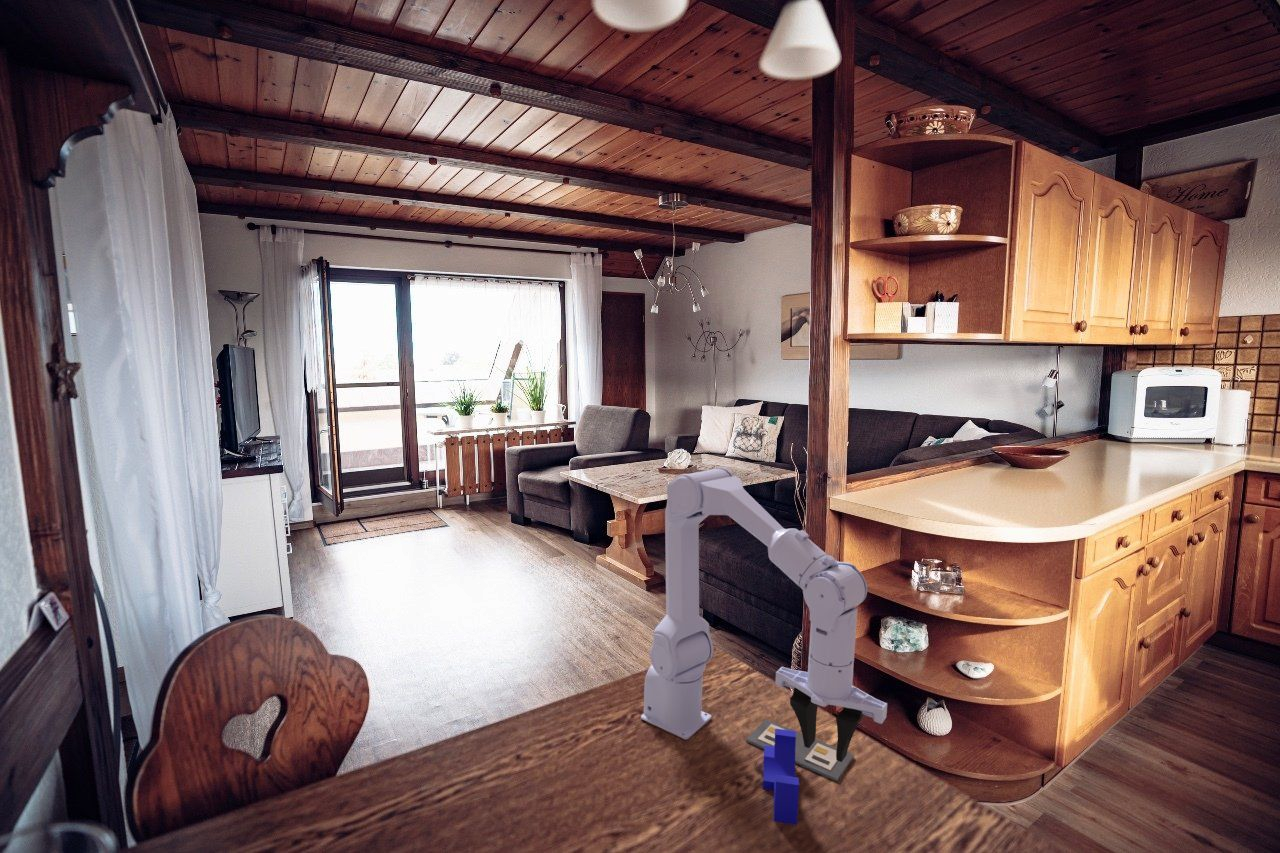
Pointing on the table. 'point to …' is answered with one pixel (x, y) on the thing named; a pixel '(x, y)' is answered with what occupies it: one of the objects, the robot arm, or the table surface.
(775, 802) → the cable clip
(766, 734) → the label board
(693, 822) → the table surface
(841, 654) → the robot arm
